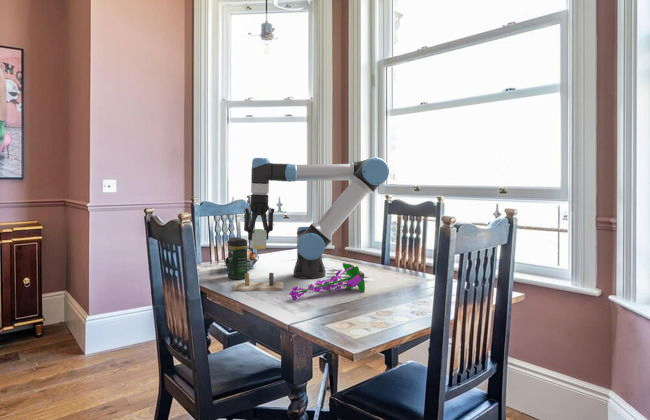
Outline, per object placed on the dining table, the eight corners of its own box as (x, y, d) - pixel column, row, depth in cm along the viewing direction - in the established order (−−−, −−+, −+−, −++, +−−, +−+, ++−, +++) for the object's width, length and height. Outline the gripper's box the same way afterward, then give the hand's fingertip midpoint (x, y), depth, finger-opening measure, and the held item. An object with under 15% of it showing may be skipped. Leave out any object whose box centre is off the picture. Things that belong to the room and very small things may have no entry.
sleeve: (261, 246, 188) (261, 229, 187) (265, 248, 183) (266, 230, 183) (250, 247, 185) (251, 229, 184) (254, 249, 181) (255, 230, 180)
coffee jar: (250, 278, 192) (250, 238, 191) (234, 280, 188) (233, 239, 187) (241, 274, 200) (241, 235, 199) (225, 276, 196) (225, 236, 195)
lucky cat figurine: (253, 266, 220) (261, 244, 215) (252, 280, 210) (260, 257, 204) (225, 259, 217) (232, 236, 211) (222, 272, 206) (230, 249, 200)
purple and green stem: (369, 298, 175) (300, 321, 154) (346, 273, 186) (278, 291, 165) (379, 276, 169) (308, 297, 148) (354, 251, 180) (284, 267, 159)
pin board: (283, 284, 182) (283, 270, 182) (283, 290, 172) (283, 275, 172) (236, 285, 180) (236, 271, 180) (233, 291, 170) (233, 276, 170)
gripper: (275, 194, 190) (273, 245, 192) (236, 193, 181) (235, 247, 183) (282, 194, 184) (280, 247, 186) (242, 193, 175) (241, 249, 176)
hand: (258, 247), depth 184 cm, fingers closed on sleeve, 5 cm apart
